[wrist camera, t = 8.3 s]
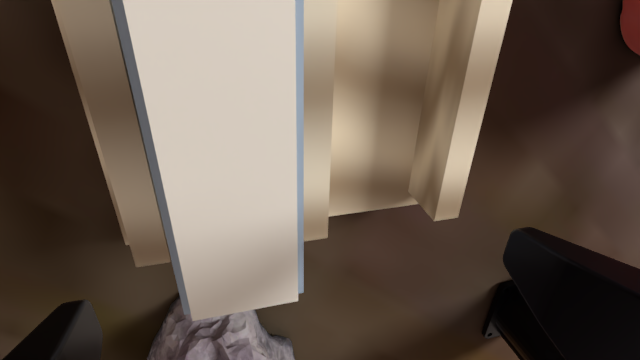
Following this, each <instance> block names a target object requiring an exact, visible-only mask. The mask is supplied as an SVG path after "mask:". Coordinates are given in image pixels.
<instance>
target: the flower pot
mask: <svg viewBox="0 0 640 360" xmlns="http://www.w3.org/2000/svg"><path fill="white" fill-rule="evenodd" d="M620 27H621V32H622V36H623V39H624V41H625V43H626V44H627V46H628V47H629V48H630V49H631V50H632V51H633V52H635V53H637V54H638V55H640V0H623V9H622V13H621V15H620Z"/></svg>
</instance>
